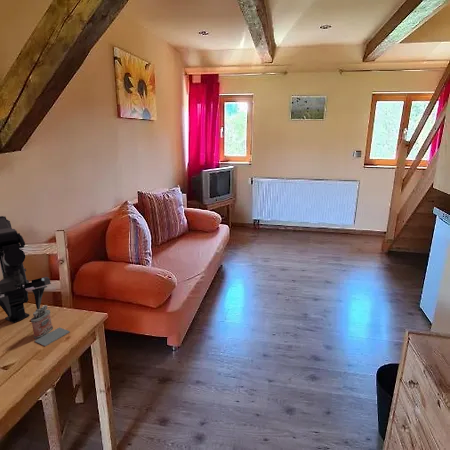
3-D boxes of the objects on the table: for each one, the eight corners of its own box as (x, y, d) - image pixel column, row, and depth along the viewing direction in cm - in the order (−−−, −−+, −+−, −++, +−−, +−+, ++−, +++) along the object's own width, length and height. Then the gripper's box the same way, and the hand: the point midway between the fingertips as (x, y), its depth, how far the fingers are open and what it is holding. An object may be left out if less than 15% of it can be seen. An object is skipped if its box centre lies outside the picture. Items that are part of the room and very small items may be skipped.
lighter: (39, 339, 123) (34, 314, 120) (31, 338, 123) (26, 313, 121) (55, 327, 130) (51, 304, 128) (47, 326, 131) (43, 303, 128)
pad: (34, 341, 121) (34, 341, 121) (59, 327, 130) (59, 327, 130) (45, 346, 119) (45, 345, 119) (70, 332, 127) (69, 331, 127)
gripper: (-30, 277, 106) (-19, 326, 105) (32, 262, 109) (43, 309, 108) (-11, 274, 117) (-1, 318, 116) (46, 260, 120) (56, 303, 119)
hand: (24, 312), depth 115 cm, fingers open, 9 cm apart
